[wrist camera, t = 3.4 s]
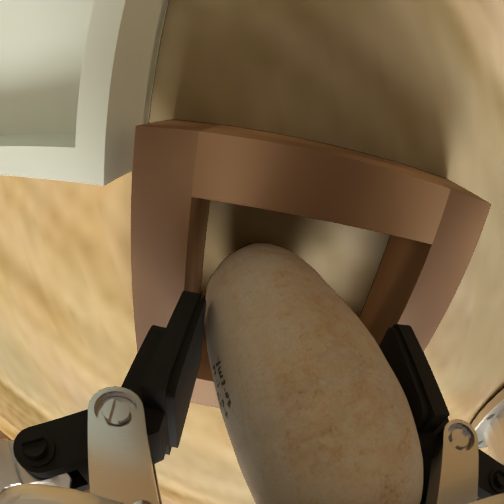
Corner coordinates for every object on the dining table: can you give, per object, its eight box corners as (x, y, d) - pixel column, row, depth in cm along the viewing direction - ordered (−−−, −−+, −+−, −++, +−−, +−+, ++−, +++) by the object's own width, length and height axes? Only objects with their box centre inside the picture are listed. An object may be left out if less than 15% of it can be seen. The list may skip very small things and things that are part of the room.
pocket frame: (447, 179, 12) (491, 204, 8) (364, 375, 17) (374, 422, 14) (171, 119, 12) (135, 125, 8) (161, 345, 17) (142, 390, 14)
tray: (210, -126, 5) (194, -165, 2) (145, 163, 12) (103, 185, 9) (-12, -55, 5) (-45, -62, 2) (-50, 154, 12) (-88, 170, 9)
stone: (224, 205, 13) (76, 515, 2) (371, 225, 13) (508, 511, 2) (217, 315, 16) (150, 559, 5) (340, 330, 15) (372, 570, 5)
